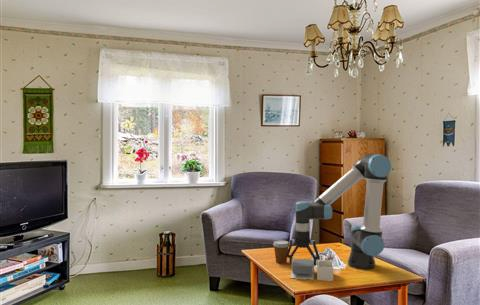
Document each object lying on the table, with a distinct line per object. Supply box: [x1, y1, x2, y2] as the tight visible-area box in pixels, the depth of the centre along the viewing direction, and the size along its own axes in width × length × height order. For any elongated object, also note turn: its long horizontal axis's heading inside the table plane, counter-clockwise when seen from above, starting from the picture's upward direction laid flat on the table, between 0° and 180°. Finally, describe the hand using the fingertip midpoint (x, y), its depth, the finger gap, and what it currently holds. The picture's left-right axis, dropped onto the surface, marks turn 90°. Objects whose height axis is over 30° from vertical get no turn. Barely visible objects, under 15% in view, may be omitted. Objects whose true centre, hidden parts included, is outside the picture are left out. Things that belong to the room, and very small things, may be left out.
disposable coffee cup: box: [272, 239, 290, 265], centre depth 241 cm, size 10×10×12 cm
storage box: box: [316, 259, 334, 282], centre depth 215 cm, size 8×11×7 cm
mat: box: [290, 268, 315, 281], centre depth 220 cm, size 12×16×1 cm
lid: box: [291, 258, 313, 274], centre depth 219 cm, size 10×13×4 cm
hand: (302, 270), depth 220 cm, fingers open, 10 cm apart
